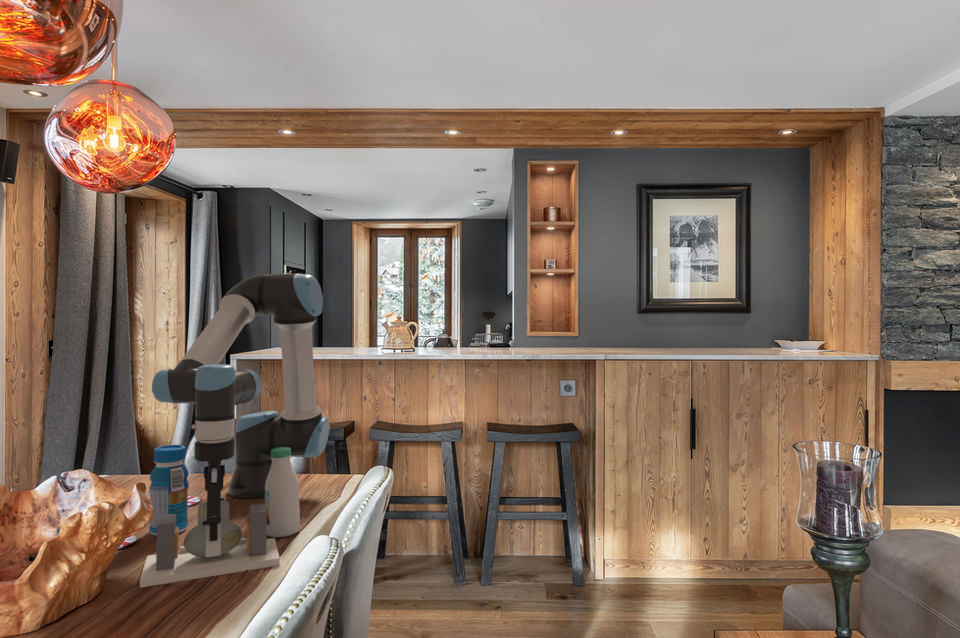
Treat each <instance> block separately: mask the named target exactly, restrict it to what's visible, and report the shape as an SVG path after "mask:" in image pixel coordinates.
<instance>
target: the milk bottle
mask: <svg viewBox="0 0 960 638" xmlns="http://www.w3.org/2000/svg"><path fill="white" fill-rule="evenodd" d="M291 458H292V457H291V448H289V447H279V448H274V449H272V450H271V459H272V465H271V469H270V471H269V474H268V476H267V479H266V483H265V497H264V503H265V507H266V511H267V527H266V536H268V537H269V538H270V537H271V538H286V537H289V536H293V535H295V534H297V533H298V532H299V531H300V528H301V517H300V516H301V515H300V514H301V513H300V511H301V510H300V509H301V508H300V490H299V487H300V486H299V479H298V476H297V474H296V471H295V469H294V467H293V465H292V461H291Z"/></svg>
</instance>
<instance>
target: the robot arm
mask: <svg viewBox="0 0 960 638" xmlns="http://www.w3.org/2000/svg"><path fill="white" fill-rule="evenodd" d="M323 304H324V297H323V292H322V287H321V285H320V283H319V282H318V280H317V278H316V277H314V276H313V275H311V274H305V273H303V274H302V273H270V274H269V273H259V274H254V275H252V276H249V277H247V278H245V279H243V280H241V281H240V282H238V283H237V284H236V285H234V286H232V287H231V288H230V289H229V290H228V291H227V292H226V293H225V294H224V296H223V297H222V298H221V300H220V301H219V309H218V310H217V312H216V313H215V314H214V315H213V317H212V318H211V319H210V320H209V322H208V324H207V325H206V326H205V327H204V329H203V330H202V332H200V334H199V335H198V336H197V338H196V340H195V341H194V342H193V343H192V345H191V346H190V347H189V349H188V350H187V351H186V353H185V354H184V355H183V357H182V358H181V359H180V361H179V362H178V363H177V365H176V366H175V367H174V368H172V369H171V368H167V369H161V370H160V371H158V372H156V373H155V375H154V376H153V379H152V381H151V392H152V394H153V397H154V398H155V399H156V401H158V402H160V403H167V404H176V405H177V404H195V406H194V408H195V412H194V413H195V415H194V420H195V422H194V424H192V425H191V430H194V438H195V440H196V441H195V442H194V456H193V457H194V460H195V461H198V462H202V463H203V462H205V463H208V465H207V466H204V467H203V479H204V491H205V492H207V493H206V496H207V497H206V502H207V520H206V521H203V525H206V557H213V556H219V555H221V518H220V513H221V501H225V497H222V490H223V489H224V477H225V476H226V469H225V468H226V467H225V466H226V465H225V464H222V461H227V460H230V459H232V458H233V457H234V455H235V467H234V470H233V472H232V476H231V479H230V481H229V484H228V496H230V497H232V498H238V499H256V498H257V499H258V498H265V483H266V479H267V476H268V474H269V471H270V469H271V465H272V459H271V450H272V449H274V448H279V447H289V448H291V458H292V457H293V458H294V457H295V458H304V459H305V458H314V457H319V456H321V455H322V453H324V450H325V449H326V446H327V444H328V440H329V434H330V421H329V418H328V417H326V416H323V412H322V408H321V407H319V406H318V405H317V402H316V398H317V397H316V384H315V383H316V382H315V369H314V368H315V367H314V348H313V347H314V346H313V333H312V332H313V331H312V330H313V329H312V327H313V325H314V324H315V323H316V322H317V317H318V316H320V315H321V314H322V312H323V308H324V307H323ZM259 316H273V323H274V325H276V326H277V327H278V328H279V333H280V348H281V363H282V375H283V376H282V377H283V390H284V391H283V392H284V406H285V408H284V409H283V410H282V411H281V413H280V414H279V412H278V411H277V410H267V411H258V412H253V413H249V414H245V415H242V416H240V417H238V419H236V416H235V415H236V414H235V409H236V406H238V405H241V404H247V403H249V402H251V401H252V400H254V399H256V398H257V397H258V396H259V395H260V393H261V391H262V388H263V382H262V378H261V377H260V375H259V374H258V373H257V372H256V371H254V370H252V369H248V368H246V369H245V368H244V369H243V368H241V369H240V368H239V369H237V370H236V369H235V367H234V366H233V365H231V364H226V363H225V364H222V363H221V361H222V360H223V358H224V356H226V354H227V352H228V351H229V350H230V348H231V347H232V345H233V343H234V342H235V340H236V339H237V337H238V336H239V334H240V333H241V331H242V330H243V328H244V327H245V325H246V324H249V323H251V322H253V320H254V319H255V317H259ZM279 415H280V416H279ZM234 437H235V439H234ZM213 516H217V517H213ZM210 517H212V518H210Z"/></svg>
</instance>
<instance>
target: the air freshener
mask: <svg viewBox="0 0 960 638" xmlns="http://www.w3.org/2000/svg"><path fill="white" fill-rule="evenodd" d="M213 517H217V516H213ZM210 518H212V517H210ZM220 518H221V555H219V556H223V555H225V554H227V553H228V552H229V551H231V550H233V549H234V548H235V547H236V546H237V545H238V543H239V542H240V540H241V538H243V537H242V536H243V533H242V529H241V528H240V526H239V525H238V524H237V523H235V522H233V521H231V520H230V503H229V502H228V501H226V500H224V501H221V513H220ZM206 520H207V501H205V502H202V503H201V504H199V506H198V507H197V525H195V526H194V527H191V529H190V530H189V531H188V532H187V534H186V535H185V537H184V539H183V546H184V547H185V549H186V550H187V551H188V552H189V553H190V554H192V555H194V556H197V557H202V558H211V557H206V525H203V521H206ZM219 556H213V557H219Z"/></svg>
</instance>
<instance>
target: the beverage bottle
mask: <svg viewBox="0 0 960 638" xmlns="http://www.w3.org/2000/svg"><path fill="white" fill-rule="evenodd" d="M185 460H186V446H185V445H182V444H166V445H162V446H157V447H155V448H154V450H153V463H154V464H155V466H154V468H153V469H152V470H151V473H150V475H149V480H150V485H149V487H148V493H149V502H150V501H151V503H152V505H153V510H154V514H153V519H152V520H151V522H150V521H149V527H148V532H149V534H150V535H152V536H155V537H157V522H158V519H159V516H160V515H168V514H176V527H179V534H180V533H182V532H184V531H185V530H187V528H188V526H189V524H188V523H189V521H188V501H189V498H188V497H189V494H188V493H189V488H190V482H189V481H188V477H189V469H188V468H187V466H186V465H185V463H184V461H185Z"/></svg>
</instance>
